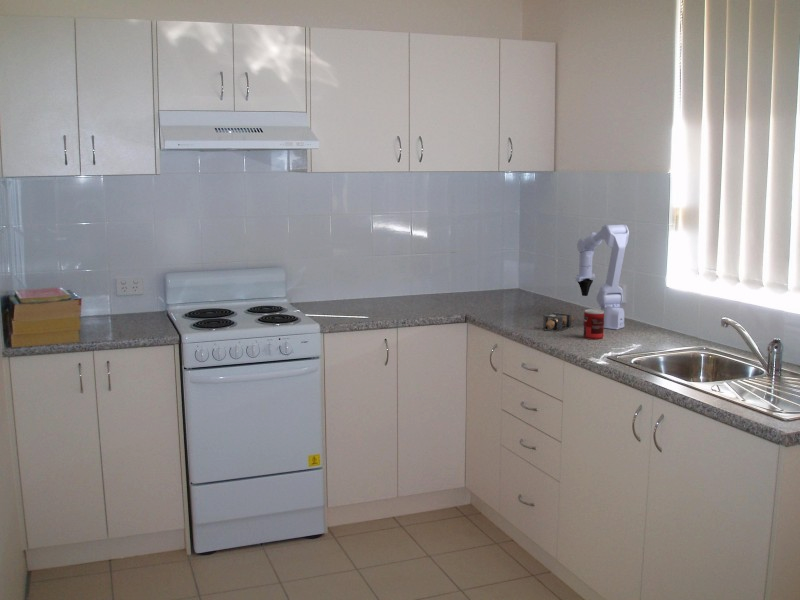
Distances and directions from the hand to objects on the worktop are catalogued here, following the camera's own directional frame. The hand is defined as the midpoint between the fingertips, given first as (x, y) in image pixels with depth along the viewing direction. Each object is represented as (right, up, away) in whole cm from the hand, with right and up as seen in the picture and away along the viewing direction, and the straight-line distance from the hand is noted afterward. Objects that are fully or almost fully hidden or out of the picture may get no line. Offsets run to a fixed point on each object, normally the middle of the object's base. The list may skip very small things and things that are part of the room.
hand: (584, 295), depth 373 cm
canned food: (-6, -17, -40) cm, 44 cm away
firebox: (-16, -14, -21) cm, 30 cm away
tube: (-15, -14, -19) cm, 28 cm away
